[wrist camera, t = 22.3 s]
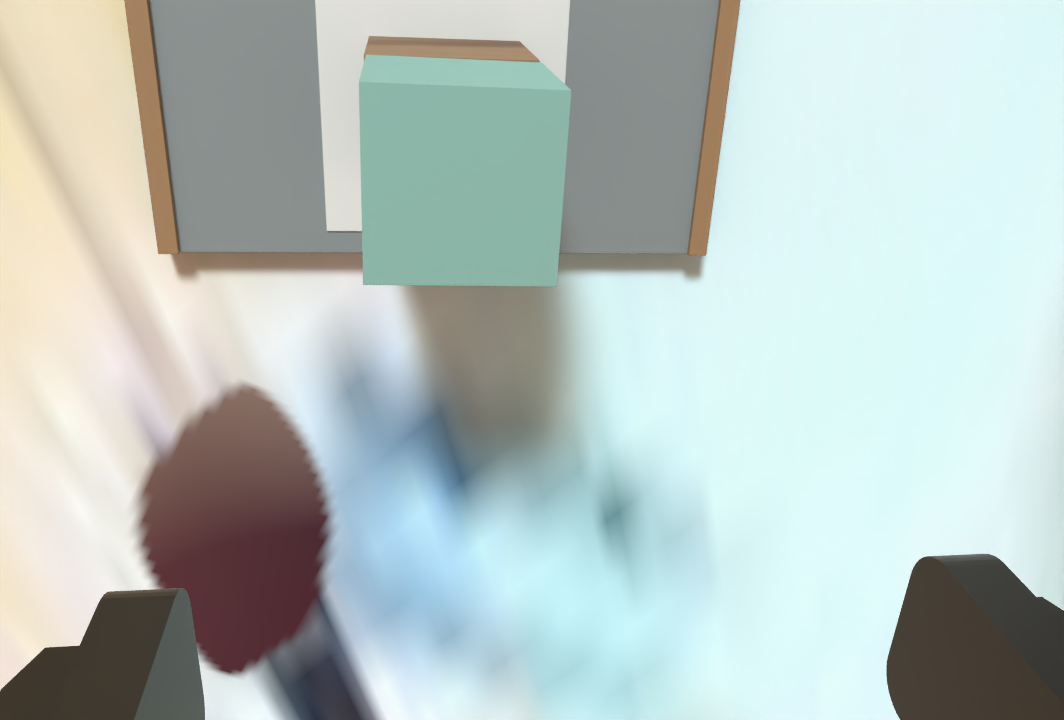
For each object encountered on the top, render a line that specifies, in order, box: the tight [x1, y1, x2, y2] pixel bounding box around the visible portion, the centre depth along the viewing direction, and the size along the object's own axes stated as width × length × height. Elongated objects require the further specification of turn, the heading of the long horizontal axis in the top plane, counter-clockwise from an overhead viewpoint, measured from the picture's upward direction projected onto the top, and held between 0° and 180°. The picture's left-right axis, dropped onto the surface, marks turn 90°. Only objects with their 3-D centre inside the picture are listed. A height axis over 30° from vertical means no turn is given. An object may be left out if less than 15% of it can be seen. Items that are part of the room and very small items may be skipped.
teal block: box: [359, 55, 571, 287], centre depth 30 cm, size 6×6×6 cm
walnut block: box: [364, 36, 540, 62], centre depth 35 cm, size 6×6×6 cm
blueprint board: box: [124, 0, 740, 256], centre depth 38 cm, size 12×24×2 cm, turn 87°
